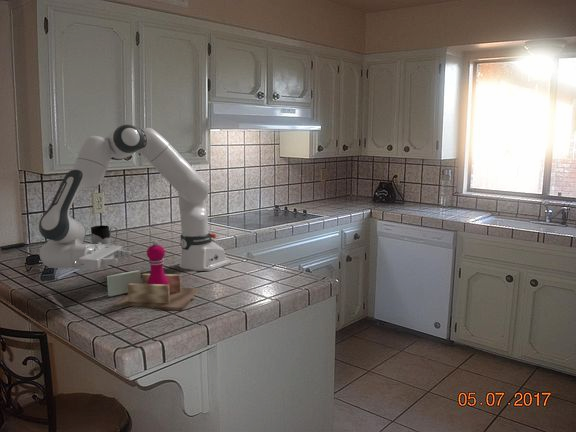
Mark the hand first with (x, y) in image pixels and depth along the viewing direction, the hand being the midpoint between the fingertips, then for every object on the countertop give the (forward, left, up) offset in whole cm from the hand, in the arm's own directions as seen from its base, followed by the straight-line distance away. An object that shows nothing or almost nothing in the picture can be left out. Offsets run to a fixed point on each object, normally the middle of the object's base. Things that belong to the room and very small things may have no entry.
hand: (123, 257), depth 183 cm
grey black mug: (-22, -55, -15) cm, 61 cm away
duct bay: (-6, +9, -15) cm, 18 cm away
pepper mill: (-6, +11, -14) cm, 18 cm away
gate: (-1, -2, -13) cm, 13 cm away
